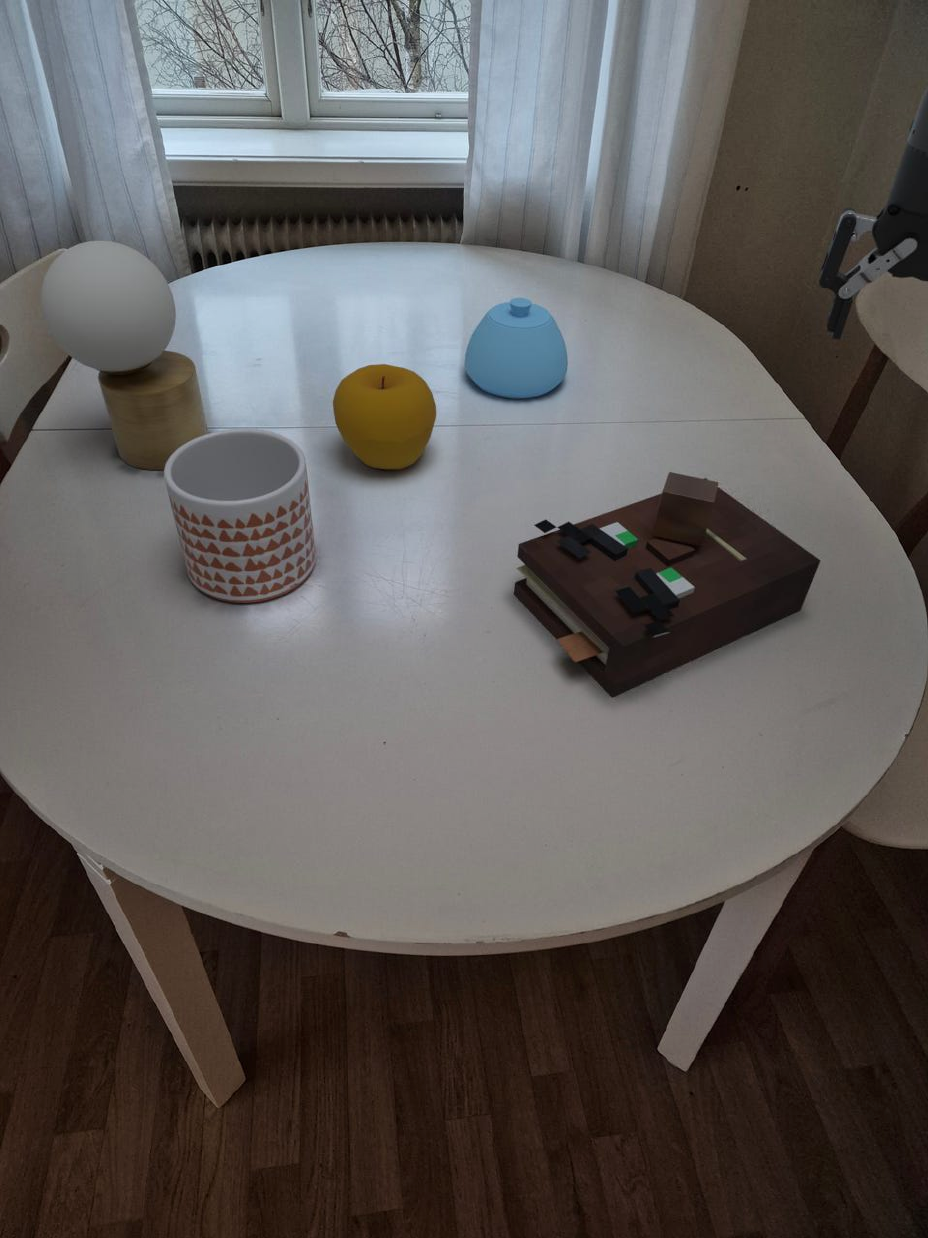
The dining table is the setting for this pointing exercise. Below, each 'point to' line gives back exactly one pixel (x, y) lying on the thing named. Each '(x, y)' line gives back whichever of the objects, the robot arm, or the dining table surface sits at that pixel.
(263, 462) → the planter
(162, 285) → the lamp
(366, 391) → the apple
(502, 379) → the sugar bowl
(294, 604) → the dining table surface
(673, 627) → the decorative book
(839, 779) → the dining table surface
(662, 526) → the walnut block
